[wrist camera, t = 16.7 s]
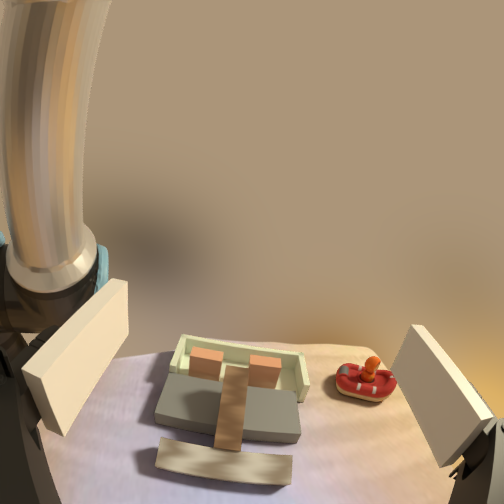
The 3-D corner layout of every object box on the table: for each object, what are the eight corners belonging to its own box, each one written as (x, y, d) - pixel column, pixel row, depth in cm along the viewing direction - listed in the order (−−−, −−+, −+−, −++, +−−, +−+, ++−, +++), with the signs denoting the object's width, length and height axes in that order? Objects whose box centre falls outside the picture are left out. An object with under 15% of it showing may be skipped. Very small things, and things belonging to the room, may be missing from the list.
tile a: (189, 355, 43) (192, 346, 45) (188, 378, 44) (191, 369, 47) (222, 361, 43) (223, 351, 45) (218, 384, 44) (220, 374, 47)
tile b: (249, 363, 44) (250, 354, 46) (244, 386, 45) (245, 376, 47) (281, 367, 44) (280, 358, 46) (274, 389, 45) (274, 380, 48)
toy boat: (389, 408, 43) (407, 377, 41) (330, 395, 46) (345, 363, 44) (387, 383, 50) (403, 353, 48) (334, 371, 53) (347, 340, 51)
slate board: (155, 423, 35) (154, 412, 34) (169, 382, 43) (169, 371, 42) (296, 443, 35) (301, 433, 34) (291, 401, 44) (295, 391, 43)
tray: (169, 382, 43) (169, 364, 42) (180, 351, 52) (181, 333, 50) (303, 402, 44) (310, 385, 43) (297, 368, 52) (303, 352, 51)
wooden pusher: (154, 465, 26) (179, 356, 38) (157, 468, 28) (181, 366, 40) (291, 483, 26) (294, 373, 39) (285, 485, 28) (289, 383, 41)
